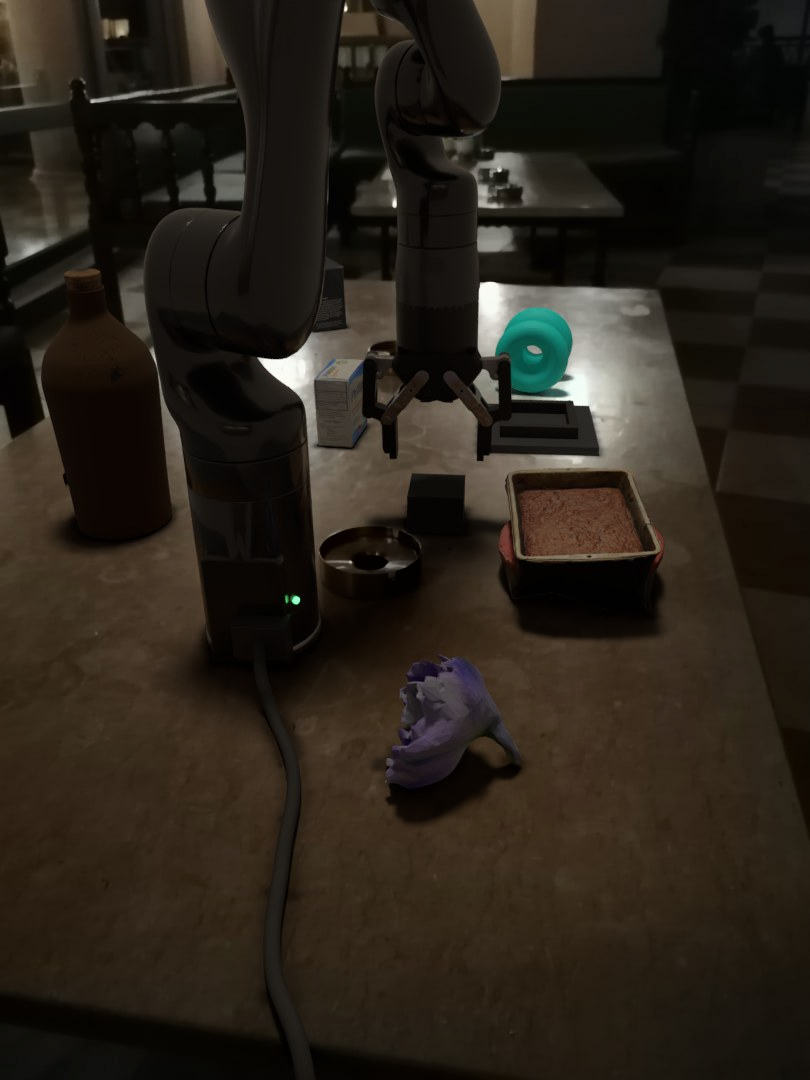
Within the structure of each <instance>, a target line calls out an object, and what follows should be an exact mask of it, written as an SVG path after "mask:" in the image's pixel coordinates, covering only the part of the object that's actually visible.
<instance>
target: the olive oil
mask: <svg viewBox="0 0 810 1080" xmlns="http://www.w3.org/2000/svg"><path fill="white" fill-rule="evenodd" d="M63 279H64V282H65V284H66V287H65V289H64V292H65V295H66V302H67V305H68V310H69V315H68V318H67V320H66V321H65V322H64V324H63V326H62V327H61V328H60V330H59V331H58V333H57V334H56V335H55V336H54V337H53V339H52V341H51V342H50V344H49V345H48V346H47V348H46V350H45V352H44V354H43V357H42V361H41V368H40V369H41V370H40V383H41V389H42V393H43V396H44V400H45V404H46V407H47V410H48V415H49V417H50V422H51V425H52V430H53V432H54V436H55V440H56V444H57V448H58V451H59V455H60V459H61V463H62V467H63V471H64V472H63V474H62V479H63V482H64V483H63V484H64V485H65V487H68V489H69V495H70V498H71V503H72V507H73V511H74V514H75V515H74V516H75V520H76V523H77V526H78V529H79V530H80V531H81V532H82V533H83V534H85V535H86V536H88V537H91V538H94V539H98V540H111V541H117V540H127V539H132V538H138V537H141V536H145V535H148V534H150V533H153V532H155V531H157V530H159V529H160V528H162V527H163V526H165V525H166V524H167V523H168V522H169V521H170V519H171V518H172V515H173V510H172V509H173V508H172V507H173V506H172V499H171V491H170V482H169V475H168V474H169V473H168V464H167V456H166V445H165V434H164V423H163V413H162V401H161V391H160V390H161V389H160V388H161V387H160V378H159V373H158V368H157V363H156V360H155V359H154V358H155V357H154V356H153V354H152V352H151V350H150V349H149V347H148V345H147V344H146V343H145V342H144V340H143V339H141V338H140V337H139V336H138V335H137V334H135V333H134V331H132V330H131V329H129V328H128V327H127V326H126V325H125V324H123V323H122V322H121V321H120V320H118V319H117V318H116V317H115V316H114V315H113V314H111V313H110V311H109V309H108V304H107V295H106V290H105V285H103V284H102V274H101V271H100V270H99V269H96V268H76V269H71V270H68V271H66V272H64V273H63Z"/></svg>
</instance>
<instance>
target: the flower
mask: <svg viewBox="0 0 810 1080" xmlns="http://www.w3.org/2000/svg"><path fill="white" fill-rule="evenodd" d="M435 655H436V656H437V657H438V659H439V660H440V664H438V663H435V662H431V660H427V659H426V658H423V659H421V662H413V663H412V665H411V667H410V668H409V670H408V671H407V673H406V674H405V676H406V678H407V682H406V683H405V686H403V687H400V688H399V699H401V700H402V701H403V702H402V703H403V706H404V707H403V709H402V712H401V717H400V724H405V725H406V726H408V727H409V730H406V729H404V728H402V727H400V728H398V729H397V734H398V737H399V740H400V742H401V744H402V745H392V747H391V754H392V758H391V757H390V758H389V757H387V758H386V760H385V765H386V767H388V769H387V770H386V771H385V773H384V774H385V777H386V780H385V781H384V784H396V785H400V786H401V787H403V788H405V789H407V790H416V789H419V788H424V787H426V786H430V785H433V784H435V783H438V782H441V781H442V780H444V779H445V778H446V777H448V776H449V775H450V774H452V772H453V771H454V770H455V768H457V766H458V764H459V762H460V760H461V759H462V757H463V755H464V753H465V751H466V749H467V748H468V747H469V746H470V744H471V743H473V742H474V741H476V740H478V739H479V738H484V737H485V738H489V739H490V740H493V741H494V742H495V743H496V744H498V745H499V746H500V747H501V748H502V750H503V751H504V753H505V755H506V757H507V760H508V762H509V763H511V764H513V765H515V766H518V765H519V764H520V762H521V760H522V756H521V751H520V749H519V747H518V746H517V744H516V742H515V741H514V739H513V737H512V736H511V734H510V732H509V731H508V730H507V728H506V725H505V724H504V721H503V717H502V714H501V711H500V710H499V708H498V707H497V705H496V703H495V701H494V700H493V697H492V696H491V695H490V692H489V691H488V689H487V688H486V684H485V680H484V676H483V674H482V673H481V672H480V670H479V669H478V668H477V667H476V666H475V665H474V664H473V663H472V662H471V661H469V660H468V659H466V658H463V657H461V656H455V657H451V659H450V658H448V657H446V656H444V655H441V654H439V653H436V652H435Z"/></svg>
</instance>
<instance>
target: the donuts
mask: <svg viewBox="0 0 810 1080" xmlns="http://www.w3.org/2000/svg"><path fill="white" fill-rule="evenodd" d="M573 339H574V338H573V334H572V330H571V328H570V325H569V324H568V322H567V321H566V320H565V318H563V316H562V315H560V314H559V313H557V312H556V311H554V310H552V309H550V308H545V307H537V306H536V307H529V308H527V309H523V310H521V311H519V312H518V313H517V314H515V315H514V316H512V318H511V319H510V320H509V321H508V323H507V324H506V326H505V328H504V331H503V334H502V335H501V336H500V337H499V339H498V341H497V344H496V347H495V351H494V356H498V355H499V354H500V353H502V352H507V353H508V354H509V355H510V359H511V389H514V390H516V391H518V392H522V393H527V394H536V393H537V394H538V393H541V392H545V391H547V390H549V389H551V388H553V387H554V386H555V385H556V384H558V383H559V382H560V381H561V379H562V378H563V376H564V375H565V373H566V371H567V369H568V365H569V358H570V356H571V353H572V350H573V345H574V344H573V343H574V342H573V341H574V340H573ZM530 346H531V347H532V346H534V347H537V348H538V349H539V350H540V353H534V352H532V351H531V350H529V348H528V347H530Z"/></svg>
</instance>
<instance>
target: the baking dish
mask: <svg viewBox="0 0 810 1080" xmlns="http://www.w3.org/2000/svg"><path fill="white" fill-rule="evenodd" d="M504 481H505V484H504V489H505V492H506V497H507V502H508V510H509V518H510V519H509V520H508V521H507V522H506V524H504V526H503V527H502V529H501V530H500V536H499V539H498V542H497V543H498V544H497V552H498V554H499V556H500V560H501V562H502V565H503V569H504V572H505V575H506V579H507V584H508V587H509V592H510V597H511V599H512V600H516V599H521V598H528V597H529V598H530V597H535V596H540V595H547V594H555V595H558V596H561V597H564V598H568V599H570V600H574V601H576V602H580V603H583V604H587V605H589V606H593V607H595V608H600V609H602V610H606V611H609V612H612V613H615V614H625V615H626V614H627V615H637V616H638V615H639V616H649V617H650V616H652V610H653V609H652V604H651V595H652V593H651V592H652V588H653V584H654V579H655V576H656V572H657V570H658V568H659V566H660V564H661V563H662V560H663V558H664V552H665V541H664V540H663V537H662V536H661V534H660V532H659V531H658V530H657V528H656V527H655V526H654V525H653V523H652V520H651V518H650V516H649V514H648V512H647V509H646V507H645V504H644V503H645V502H644V500H643V499H642V496H641V493H640V491H639V489H638V485H637V483H636V481H635V478H634V476H633V474H632V473H631V472H630V471H629V470H627V469H624V468H608V467H607V468H606V467H558V468H556V467H555V468H553V467H552V468H551V467H549V468H537V469H520V470H515V471H512V472H508V474H507V475H506V477H505V480H504Z"/></svg>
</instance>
